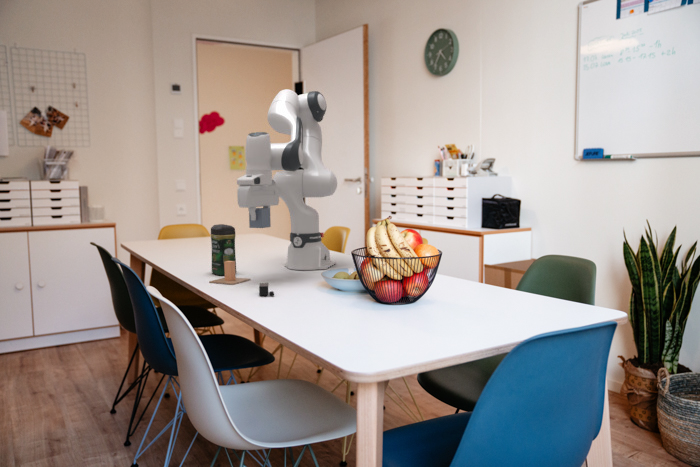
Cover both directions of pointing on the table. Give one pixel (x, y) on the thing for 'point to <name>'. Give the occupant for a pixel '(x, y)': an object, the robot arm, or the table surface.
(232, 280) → the marker post
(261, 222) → the grey block
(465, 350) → the table surface
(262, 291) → the wireless earbuds
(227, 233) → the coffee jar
